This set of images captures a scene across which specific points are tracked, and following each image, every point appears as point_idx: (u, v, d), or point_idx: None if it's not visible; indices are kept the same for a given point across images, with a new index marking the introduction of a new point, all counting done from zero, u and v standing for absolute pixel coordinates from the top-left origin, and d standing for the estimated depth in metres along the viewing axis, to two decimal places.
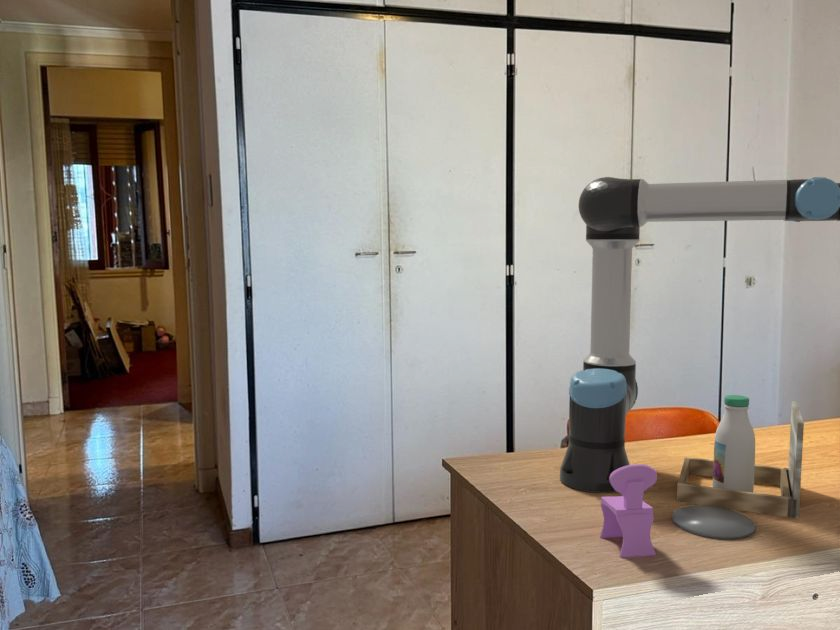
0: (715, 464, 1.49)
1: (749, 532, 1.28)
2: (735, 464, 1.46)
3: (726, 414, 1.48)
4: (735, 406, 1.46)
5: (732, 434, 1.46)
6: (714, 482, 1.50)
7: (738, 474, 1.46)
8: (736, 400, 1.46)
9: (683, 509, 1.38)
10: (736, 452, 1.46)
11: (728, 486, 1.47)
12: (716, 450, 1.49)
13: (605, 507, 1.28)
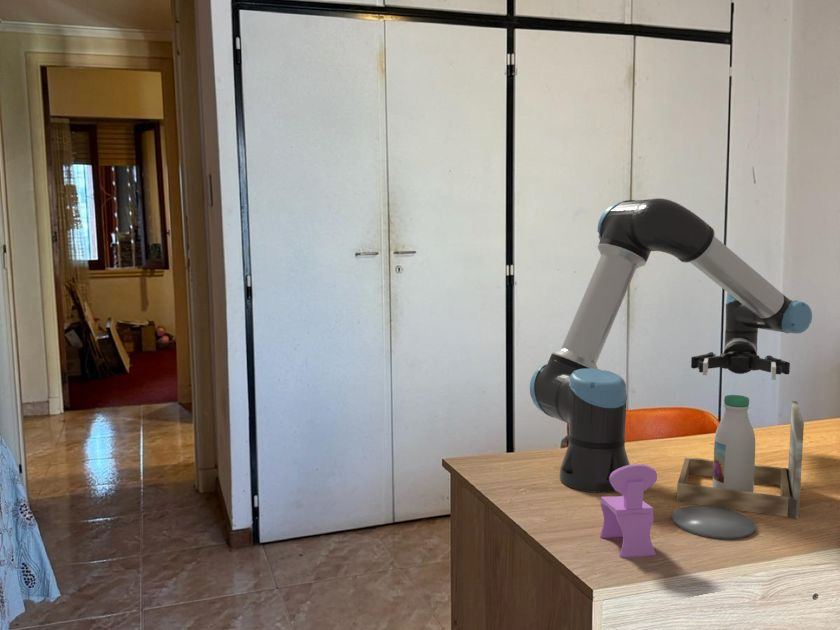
0: (715, 464, 1.49)
1: (749, 532, 1.28)
2: (735, 464, 1.46)
3: (726, 414, 1.48)
4: (735, 406, 1.46)
5: (732, 434, 1.46)
6: (714, 482, 1.50)
7: (738, 474, 1.46)
8: (736, 400, 1.46)
9: (683, 509, 1.38)
10: (736, 452, 1.46)
11: (728, 486, 1.47)
12: (716, 450, 1.49)
13: (605, 507, 1.28)
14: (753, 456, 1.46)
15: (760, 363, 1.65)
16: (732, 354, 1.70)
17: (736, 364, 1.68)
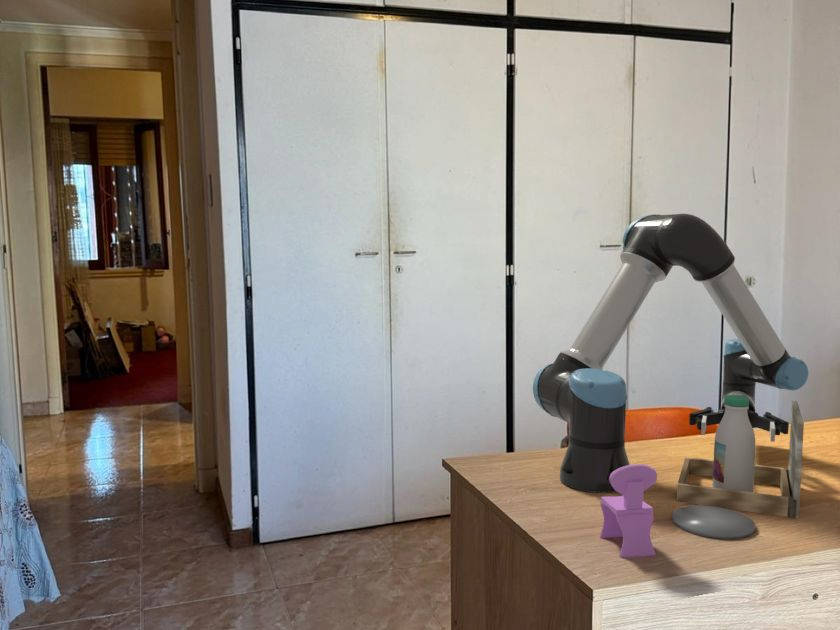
0: (715, 464, 1.49)
1: (749, 532, 1.28)
2: (735, 464, 1.46)
3: (726, 414, 1.48)
4: (735, 406, 1.46)
5: (732, 434, 1.46)
6: (714, 482, 1.50)
7: (738, 474, 1.46)
8: (736, 400, 1.46)
9: (683, 509, 1.38)
10: (736, 452, 1.46)
11: (728, 486, 1.47)
12: (716, 450, 1.49)
13: (605, 507, 1.28)
14: (753, 456, 1.46)
15: (759, 421, 1.63)
16: None
17: None
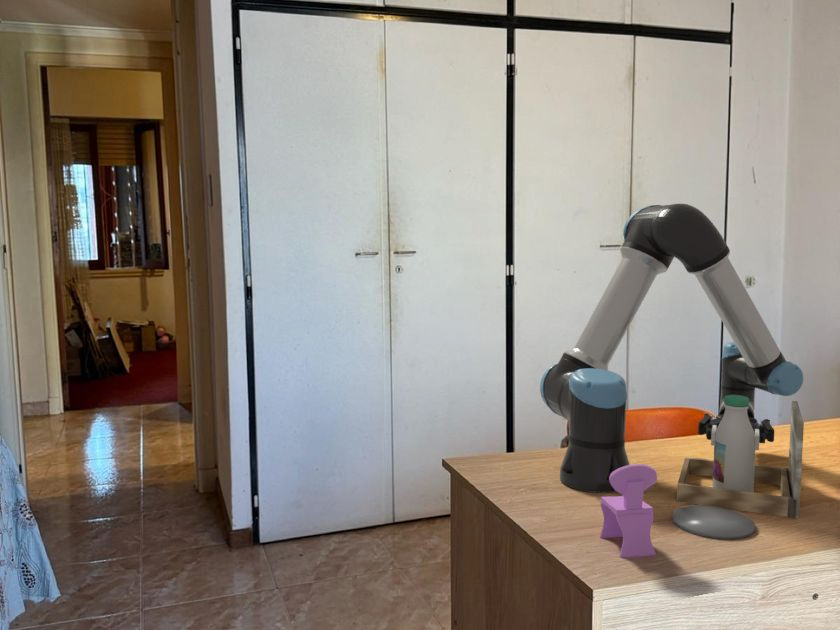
0: (715, 464, 1.49)
1: (749, 532, 1.28)
2: (735, 464, 1.46)
3: (726, 414, 1.48)
4: (735, 406, 1.46)
5: (732, 434, 1.46)
6: (714, 482, 1.50)
7: (738, 474, 1.46)
8: (736, 400, 1.46)
9: (683, 509, 1.38)
10: (736, 452, 1.46)
11: (728, 486, 1.47)
12: (716, 450, 1.49)
13: (605, 507, 1.28)
14: (753, 456, 1.46)
15: None
16: None
17: None
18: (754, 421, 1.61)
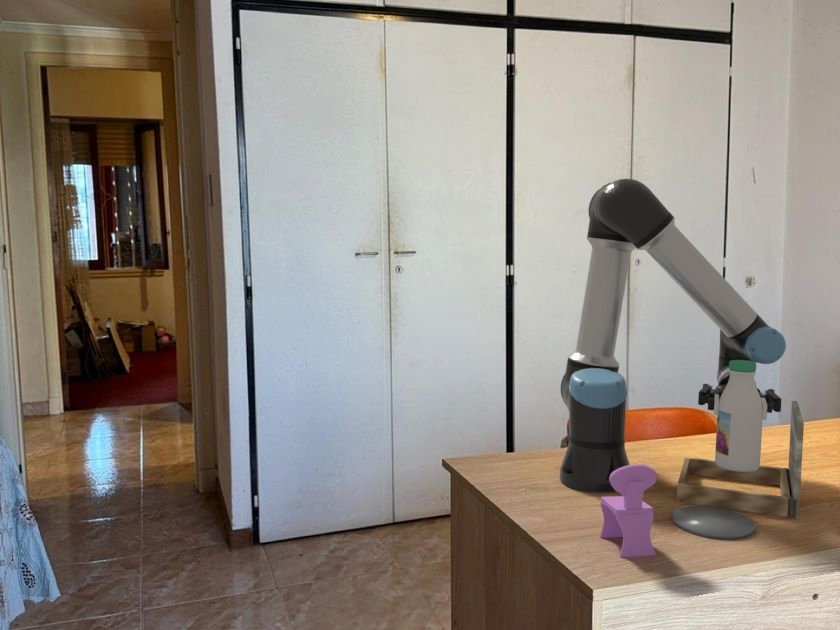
0: (719, 435, 1.36)
1: (749, 532, 1.28)
2: (741, 434, 1.33)
3: (731, 380, 1.35)
4: (741, 371, 1.33)
5: (738, 402, 1.33)
6: (717, 455, 1.37)
7: (744, 445, 1.33)
8: (743, 365, 1.33)
9: (683, 509, 1.38)
10: (742, 421, 1.33)
11: (733, 459, 1.34)
12: (720, 420, 1.36)
13: (605, 507, 1.28)
14: (760, 426, 1.34)
15: None
16: None
17: None
18: None
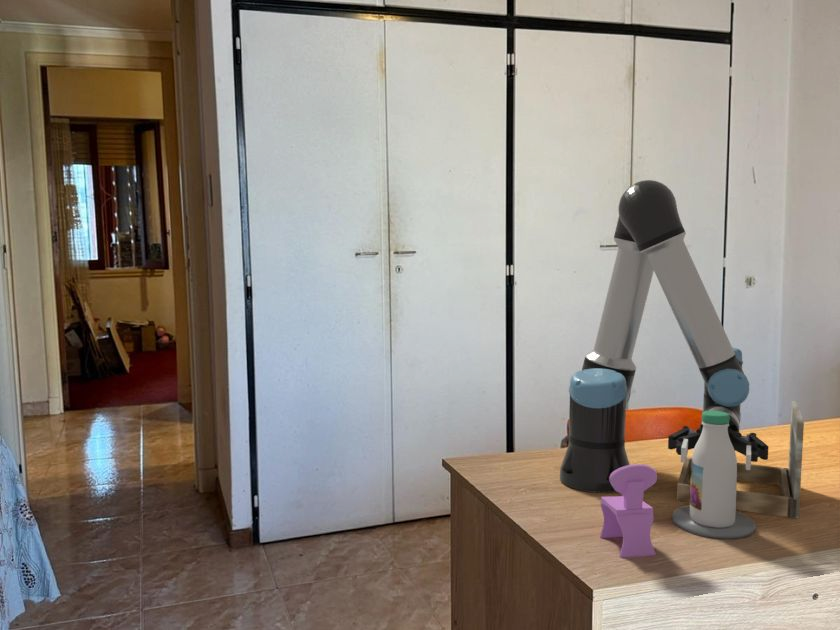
0: (692, 489, 1.32)
1: (749, 532, 1.28)
2: (714, 489, 1.29)
3: (704, 432, 1.31)
4: (713, 423, 1.29)
5: (710, 455, 1.29)
6: (691, 509, 1.33)
7: (717, 500, 1.29)
8: (714, 417, 1.29)
9: (683, 509, 1.38)
10: (715, 476, 1.29)
11: (706, 514, 1.30)
12: (693, 473, 1.32)
13: (605, 507, 1.28)
14: (734, 480, 1.29)
15: (737, 444, 1.40)
16: None
17: None
18: (739, 435, 1.44)
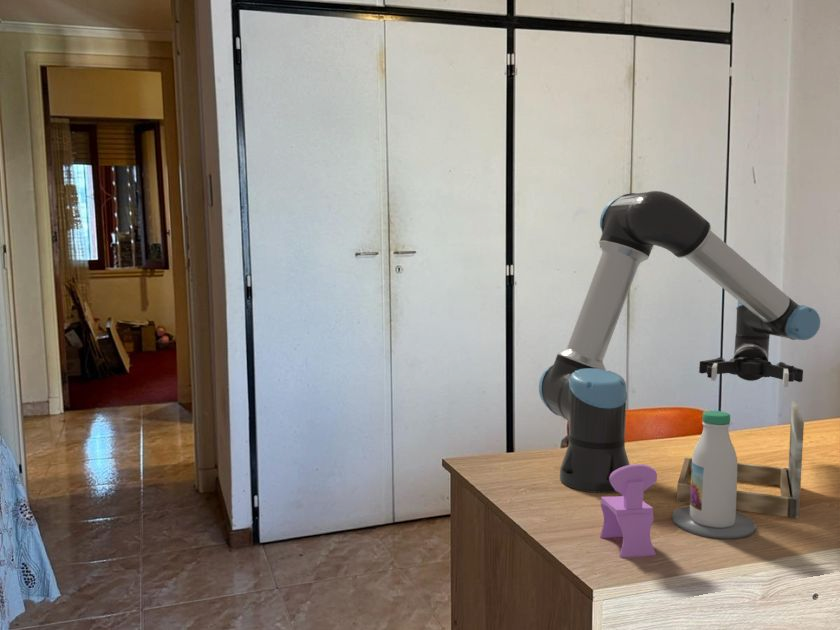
0: (692, 489, 1.32)
1: (749, 532, 1.28)
2: (714, 489, 1.29)
3: (704, 432, 1.31)
4: (714, 424, 1.29)
5: (711, 455, 1.29)
6: (691, 509, 1.33)
7: (717, 500, 1.29)
8: (715, 417, 1.29)
9: (683, 509, 1.38)
10: (715, 476, 1.29)
11: (706, 514, 1.30)
12: (693, 473, 1.32)
13: (605, 507, 1.28)
14: (735, 480, 1.29)
15: (772, 370, 1.57)
16: (742, 360, 1.63)
17: (746, 370, 1.61)
18: None
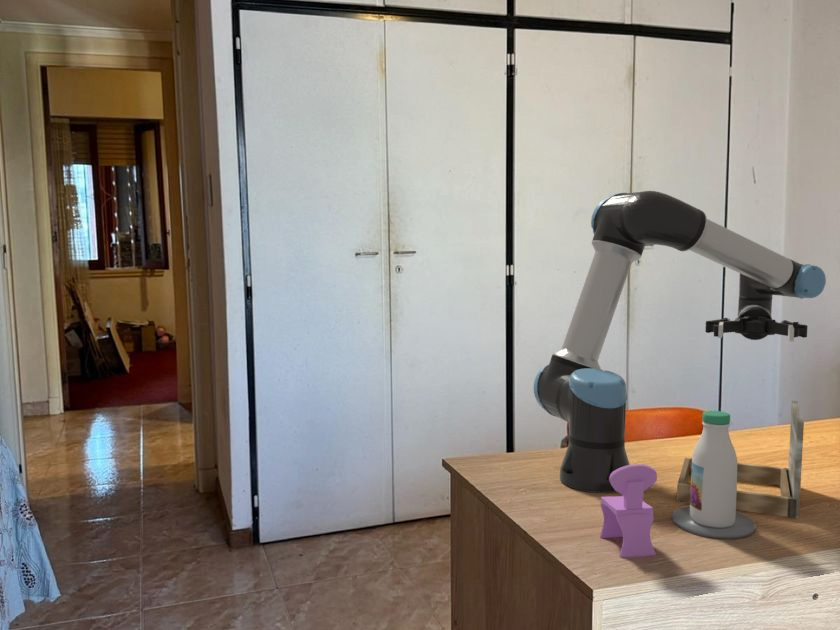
0: (692, 489, 1.32)
1: (749, 532, 1.28)
2: (714, 489, 1.29)
3: (704, 432, 1.31)
4: (714, 424, 1.29)
5: (711, 455, 1.29)
6: (691, 509, 1.33)
7: (717, 500, 1.29)
8: (715, 417, 1.29)
9: (683, 509, 1.38)
10: (715, 476, 1.29)
11: (706, 514, 1.30)
12: (693, 473, 1.32)
13: (605, 507, 1.28)
14: (735, 480, 1.29)
15: (776, 327, 1.61)
16: (747, 319, 1.66)
17: (751, 329, 1.65)
18: None
